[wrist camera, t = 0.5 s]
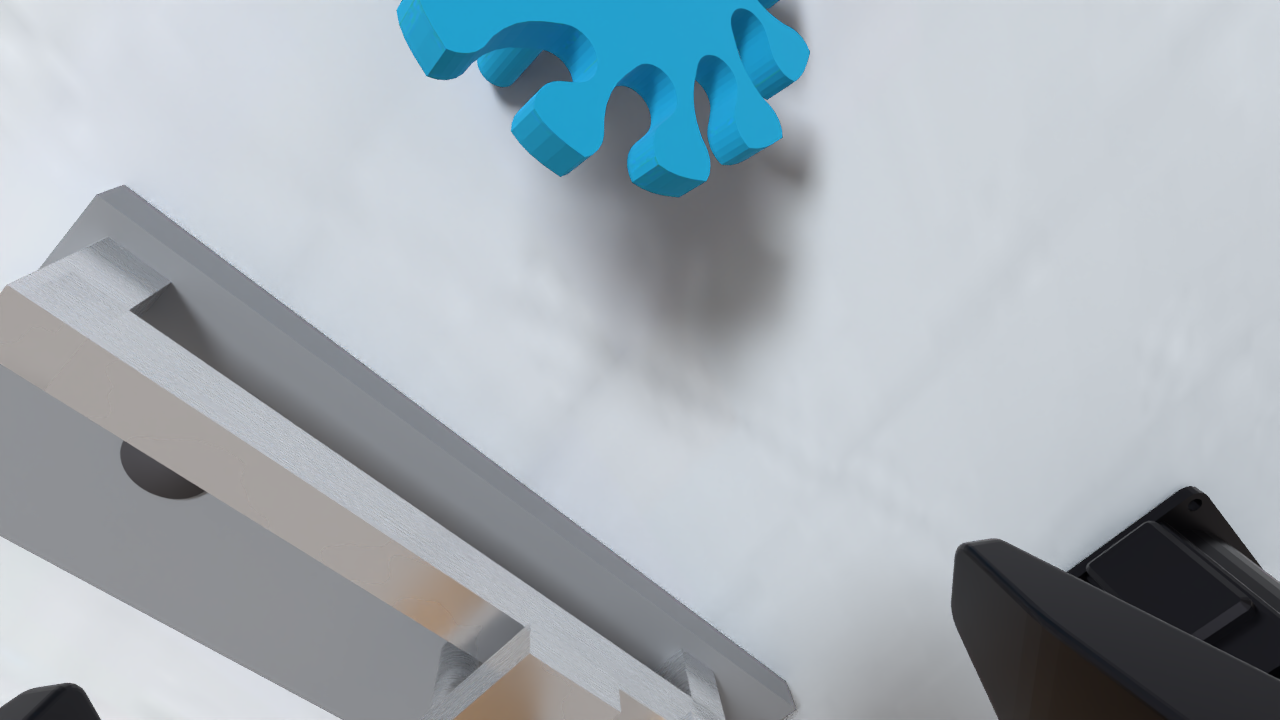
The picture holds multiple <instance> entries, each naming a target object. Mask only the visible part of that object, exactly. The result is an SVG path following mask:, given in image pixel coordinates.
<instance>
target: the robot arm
mask: <svg viewBox="0 0 1280 720" xmlns="http://www.w3.org/2000/svg"><path fill="white" fill-rule="evenodd" d="M951 609H952V615H953V619H954V622H955V625H956V628H957V630H958V632H959V635H960V637H961V639H962V641H963V643H964V645H965V648H966V650H967V652H968V654H969V656H970V658H971V661H972V663H973V665H974V667H975V669H976V671H977V674H978V676H979V678H980V680H981V682H982V684H983V687H984V689H985V691H986V693H987V695H988V697H989V700H990V702H991V704H992V706H993V708H994V710H995V713H996V715H997V717H998V719H999V720H1280V582H1279V581H1277V580H1276V579H1275V578H1273V577H1272V576H1271V575H1270V574H1268V573H1267V572H1266V571H1264V570H1263V569H1262V568H1261V566H1260V565H1259V564H1258V562H1257V561H1256V560H1255V558H1254V557H1253V556H1252V554H1251V553H1250V552H1249V550H1248V549H1247V548H1246V546H1245V545H1244V544H1243V542H1242V541H1241V540H1240V538H1239V537H1238V536H1237V534H1236V533H1235V532H1234V530H1233V529H1232V528H1231V526H1230V525H1229V524H1228V522H1227V521H1226V520H1225V518H1224V517H1223V516H1222V514H1221V513H1220V512H1219V510H1218V509H1217V508H1216V506H1215V505H1214V504H1213V502H1212V501H1211V500H1210V498H1209V497H1208V496H1207V495H1206V494H1204V493H1203V492H1202V491H1200V490H1199V489H1197V488H1196V487H1192V486H1189V487H1185V488H1183V489H1181V490H1179V491H1178V492H1177V493H1175V494H1174V495H1172V496H1171V497H1170V498H1168V499H1167V500H1166V501H1164V502H1163V503H1162V504H1160V505H1159V506H1157V507H1156V508H1155V509H1153V510H1152V511H1151V512H1149V513H1148V514H1146V515H1145V516H1144V517H1142V518H1141V519H1140V520H1138V521H1137V522H1135V523H1134V524H1133V525H1131V526H1130V527H1129V528H1127V529H1126V530H1125V531H1123V532H1122V533H1120V534H1119V535H1118V536H1116V537H1115V538H1114V539H1112V540H1111V541H1109V542H1108V543H1107V544H1105V545H1104V546H1103V547H1101V548H1100V549H1098V550H1097V551H1096V552H1094V553H1093V554H1092V555H1090V556H1089V557H1087V558H1086V559H1085V560H1083V561H1082V562H1081V563H1079V564H1078V565H1077V566H1075V567H1074V568H1072V569H1071V570H1070V571H1068V572H1065V571H1063V570H1061V569H1059V568H1057V567H1055V566H1053V565H1051V564H1049V563H1047V562H1045V561H1043V560H1041V559H1039V558H1037V557H1035V556H1033V555H1031V554H1029V553H1027V552H1025V551H1023V550H1021V549H1019V548H1017V547H1015V546H1013V545H1011V544H1009V543H1007V542H1005V541H1003V540H1000V539H985V540H978V541H972V542H966V543H963V544H961V545H960V546H959V547H958V548H957V550H956V553H955V559H954V572H953V585H952V598H951ZM0 720H101V719H100V717H99V715H98V714H97V712H96V710H95V709H94V707H93V705H92V703H91V702H90V700H89V698H88V696H87V695H86V693H85V691H84V690H83V689H82V688H81V687H79V686H78V685H76V684H72V683H63V684H56V685H50V686H44V687H37V688H33V689H30V690H27V691H25V692H23V693H21V694H20V695H18V696H17V697H15V698H14V699H12V700H11V701H9V702H8V703H6V704H5V705H3V706H2V707H1V708H0Z"/></svg>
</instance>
